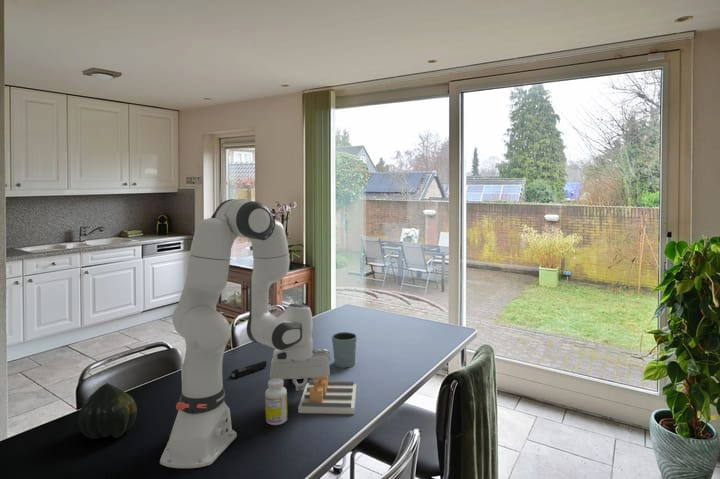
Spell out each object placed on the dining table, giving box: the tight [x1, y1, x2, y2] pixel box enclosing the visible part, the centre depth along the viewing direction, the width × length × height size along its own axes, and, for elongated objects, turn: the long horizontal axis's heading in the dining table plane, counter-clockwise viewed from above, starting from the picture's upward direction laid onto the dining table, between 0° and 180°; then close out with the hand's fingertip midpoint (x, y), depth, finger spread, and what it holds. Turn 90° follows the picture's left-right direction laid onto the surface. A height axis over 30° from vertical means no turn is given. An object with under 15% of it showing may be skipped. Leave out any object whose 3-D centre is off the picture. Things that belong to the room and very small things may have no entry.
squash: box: [77, 382, 138, 440], centre depth 134 cm, size 14×15×15 cm
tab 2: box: [313, 379, 327, 395], centre depth 154 cm, size 3×4×5 cm
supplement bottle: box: [264, 378, 288, 426], centre depth 141 cm, size 7×7×13 cm
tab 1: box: [315, 376, 329, 388], centre depth 160 cm, size 3×4×5 cm
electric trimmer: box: [229, 360, 267, 380], centre depth 178 cm, size 4×16×3 cm, turn 137°
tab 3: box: [310, 386, 323, 402], centre depth 149 cm, size 3×4×5 cm
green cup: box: [331, 331, 357, 369], centre depth 187 cm, size 10×10×12 cm
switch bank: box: [297, 380, 357, 415], centre depth 155 cm, size 18×18×3 cm
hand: (300, 389), depth 155 cm, fingers closed
